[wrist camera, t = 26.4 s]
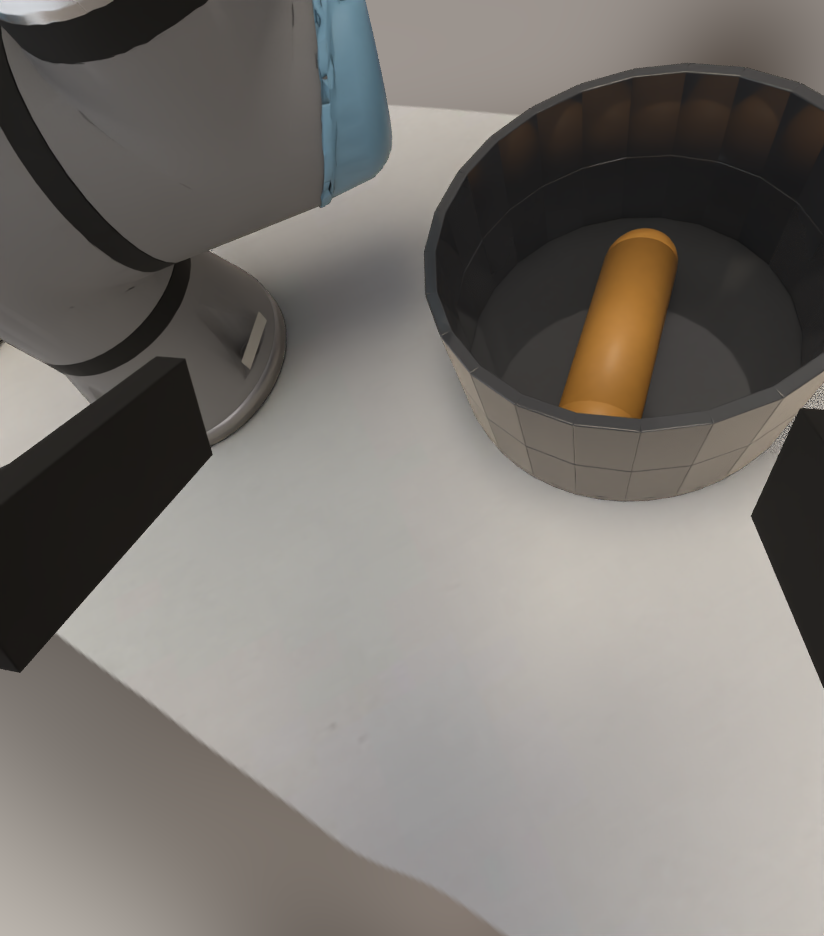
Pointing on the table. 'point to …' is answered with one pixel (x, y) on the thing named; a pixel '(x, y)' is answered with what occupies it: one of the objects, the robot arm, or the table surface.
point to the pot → (695, 286)
